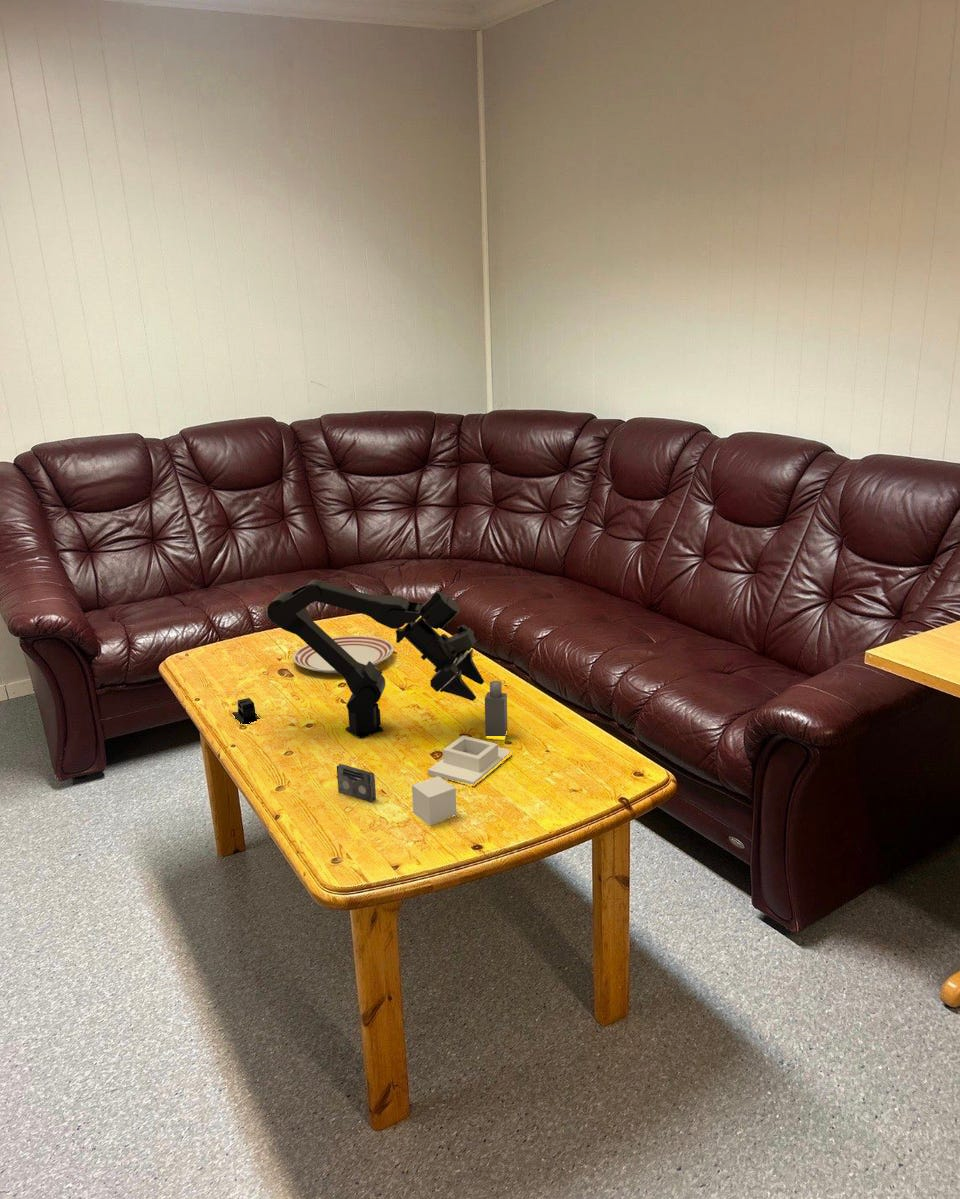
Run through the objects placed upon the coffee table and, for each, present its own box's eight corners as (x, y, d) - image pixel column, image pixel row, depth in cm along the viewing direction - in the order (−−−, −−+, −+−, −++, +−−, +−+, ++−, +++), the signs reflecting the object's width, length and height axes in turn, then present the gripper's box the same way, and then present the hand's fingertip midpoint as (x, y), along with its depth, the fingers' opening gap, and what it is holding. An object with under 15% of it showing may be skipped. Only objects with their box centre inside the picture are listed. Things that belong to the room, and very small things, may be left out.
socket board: (428, 774, 192) (427, 756, 191) (468, 744, 205) (468, 727, 204) (473, 787, 186) (472, 768, 185) (512, 755, 200) (512, 737, 198)
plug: (485, 739, 207) (484, 685, 203) (488, 732, 211) (487, 679, 207) (504, 740, 207) (504, 686, 203) (507, 734, 210) (506, 680, 206)
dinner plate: (275, 675, 247) (274, 664, 246) (321, 641, 272) (320, 630, 271) (370, 685, 239) (369, 673, 238) (408, 649, 264) (408, 638, 263)
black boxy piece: (224, 713, 225) (223, 696, 223) (254, 706, 228) (252, 689, 227) (241, 732, 215) (239, 714, 213) (271, 724, 218) (269, 706, 217)
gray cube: (439, 803, 181) (438, 775, 179) (456, 816, 176) (455, 787, 175) (413, 813, 178) (411, 785, 176) (430, 826, 173) (428, 797, 171)
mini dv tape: (376, 799, 183) (374, 772, 181) (371, 802, 182) (369, 775, 180) (343, 789, 187) (341, 762, 185) (338, 792, 186) (336, 765, 184)
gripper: (443, 632, 193) (496, 684, 195) (461, 605, 211) (510, 653, 212) (408, 666, 197) (460, 716, 198) (429, 637, 215) (477, 683, 216)
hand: (478, 691), depth 206 cm, fingers open, 9 cm apart
